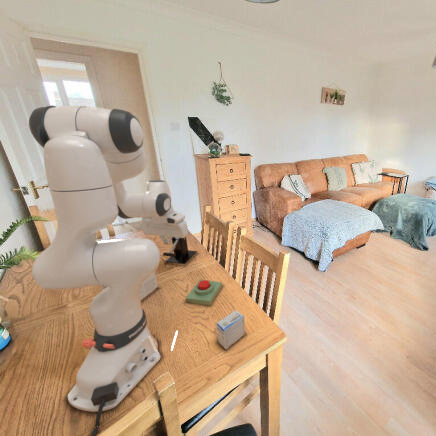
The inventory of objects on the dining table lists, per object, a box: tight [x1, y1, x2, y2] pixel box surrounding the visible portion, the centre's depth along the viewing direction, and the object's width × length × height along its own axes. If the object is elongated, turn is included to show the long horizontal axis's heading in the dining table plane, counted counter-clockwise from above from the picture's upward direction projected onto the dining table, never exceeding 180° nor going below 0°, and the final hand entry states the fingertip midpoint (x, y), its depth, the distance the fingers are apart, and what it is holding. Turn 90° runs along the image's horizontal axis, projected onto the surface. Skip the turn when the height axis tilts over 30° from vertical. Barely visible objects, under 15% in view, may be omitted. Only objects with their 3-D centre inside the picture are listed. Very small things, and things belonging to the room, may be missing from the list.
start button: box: [197, 279, 210, 290], centre depth 98 cm, size 4×4×2 cm
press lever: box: [162, 237, 180, 258], centre depth 116 cm, size 12×6×2 cm, turn 171°
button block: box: [185, 279, 223, 306], centre depth 99 cm, size 12×10×4 cm
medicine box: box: [216, 309, 246, 350], centre depth 78 cm, size 8×4×9 cm, turn 141°
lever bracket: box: [165, 236, 198, 265], centre depth 121 cm, size 12×10×14 cm
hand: (167, 243), depth 110 cm, fingers closed
